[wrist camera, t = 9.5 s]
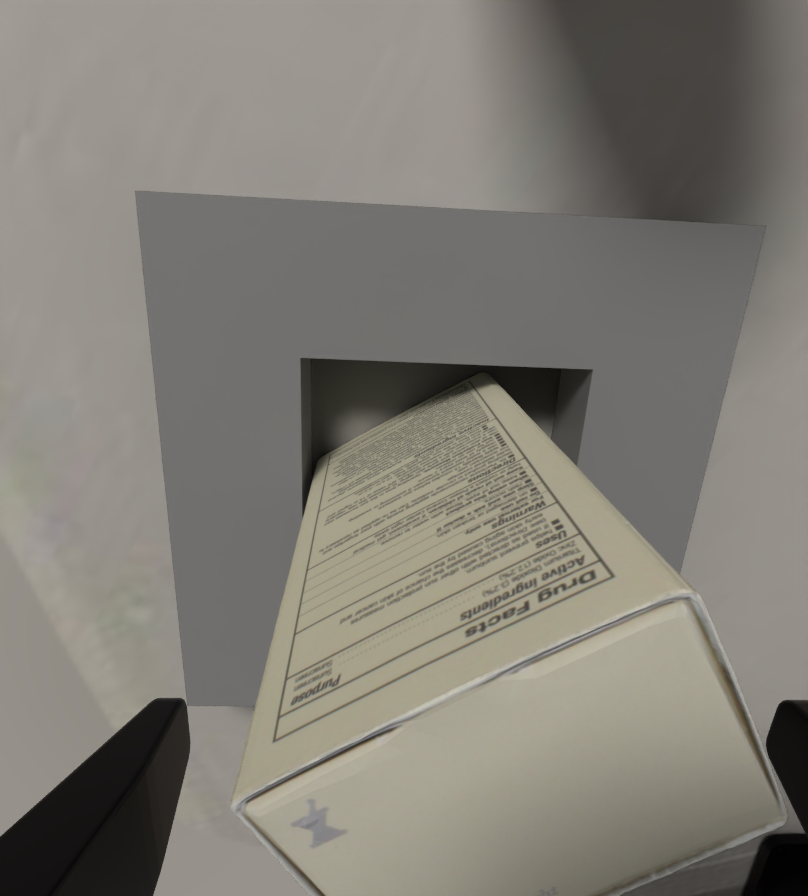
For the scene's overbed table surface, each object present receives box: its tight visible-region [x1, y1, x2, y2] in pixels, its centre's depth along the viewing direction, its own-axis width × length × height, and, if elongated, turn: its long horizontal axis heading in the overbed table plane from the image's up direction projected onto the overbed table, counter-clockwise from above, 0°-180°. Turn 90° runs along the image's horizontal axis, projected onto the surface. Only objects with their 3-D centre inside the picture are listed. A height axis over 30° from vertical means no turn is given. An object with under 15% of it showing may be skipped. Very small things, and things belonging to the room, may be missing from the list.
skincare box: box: [230, 372, 788, 896], centre depth 13 cm, size 6×4×12 cm
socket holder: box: [135, 191, 766, 706], centre depth 17 cm, size 15×15×2 cm
